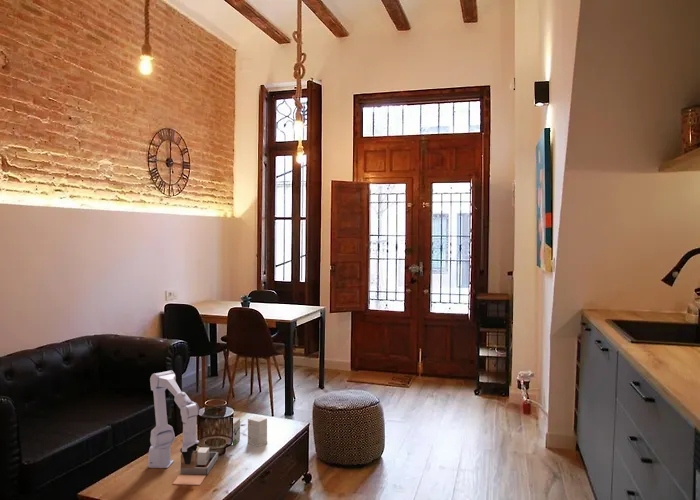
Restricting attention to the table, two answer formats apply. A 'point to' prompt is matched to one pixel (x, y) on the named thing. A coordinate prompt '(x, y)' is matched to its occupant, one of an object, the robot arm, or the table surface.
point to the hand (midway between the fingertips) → (189, 461)
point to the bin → (199, 469)
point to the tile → (189, 479)
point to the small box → (257, 430)
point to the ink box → (236, 430)
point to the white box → (203, 456)
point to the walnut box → (193, 461)
